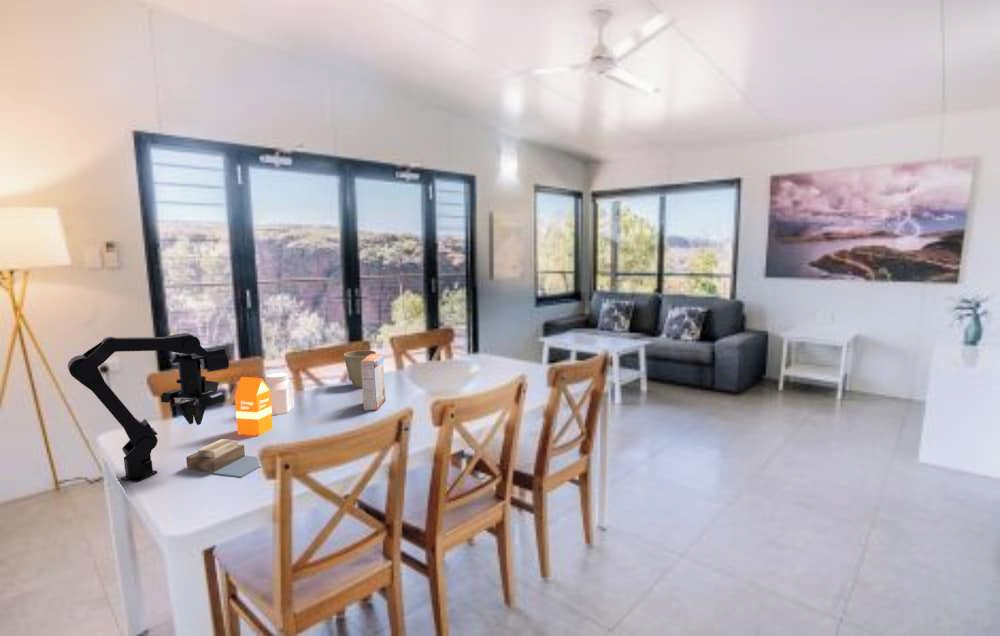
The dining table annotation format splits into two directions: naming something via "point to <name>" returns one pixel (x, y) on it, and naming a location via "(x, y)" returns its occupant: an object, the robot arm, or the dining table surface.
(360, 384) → the plant pot
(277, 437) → the dining table surface
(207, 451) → the beige rectangular block
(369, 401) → the cracker box
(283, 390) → the jar
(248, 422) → the orange juice
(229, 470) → the mat
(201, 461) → the brown wooden flat block
